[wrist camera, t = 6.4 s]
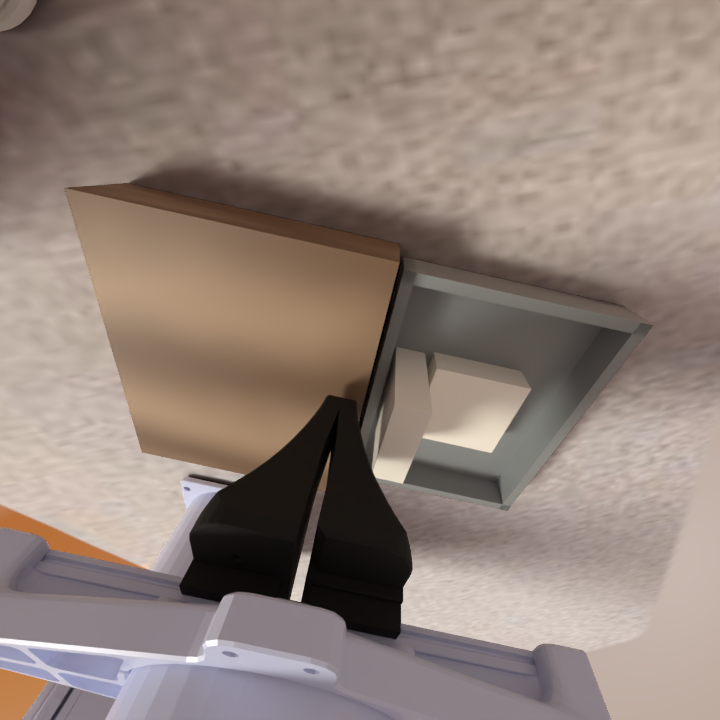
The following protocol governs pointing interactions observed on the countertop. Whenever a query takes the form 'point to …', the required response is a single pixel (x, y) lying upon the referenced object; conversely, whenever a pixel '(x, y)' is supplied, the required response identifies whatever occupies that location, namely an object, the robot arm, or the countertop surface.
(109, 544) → the countertop surface
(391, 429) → the tile
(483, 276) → the tray
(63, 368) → the countertop surface
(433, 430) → the tile
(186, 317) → the board
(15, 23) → the pill bottle
